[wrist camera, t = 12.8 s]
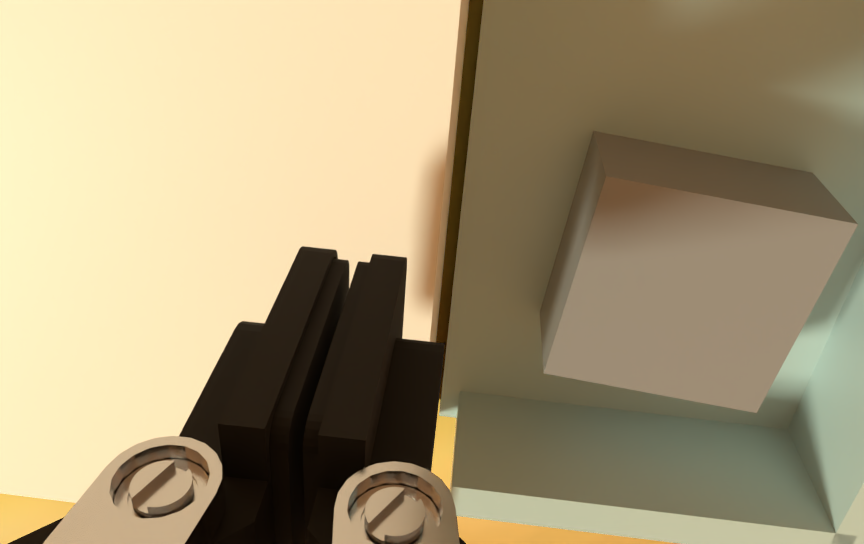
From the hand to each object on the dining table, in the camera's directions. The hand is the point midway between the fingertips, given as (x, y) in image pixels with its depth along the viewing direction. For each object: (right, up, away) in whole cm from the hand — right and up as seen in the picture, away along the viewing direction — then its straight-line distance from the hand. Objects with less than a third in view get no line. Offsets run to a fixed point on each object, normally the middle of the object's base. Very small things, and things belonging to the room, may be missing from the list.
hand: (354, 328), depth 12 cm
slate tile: (+7, 0, +4) cm, 8 cm away
